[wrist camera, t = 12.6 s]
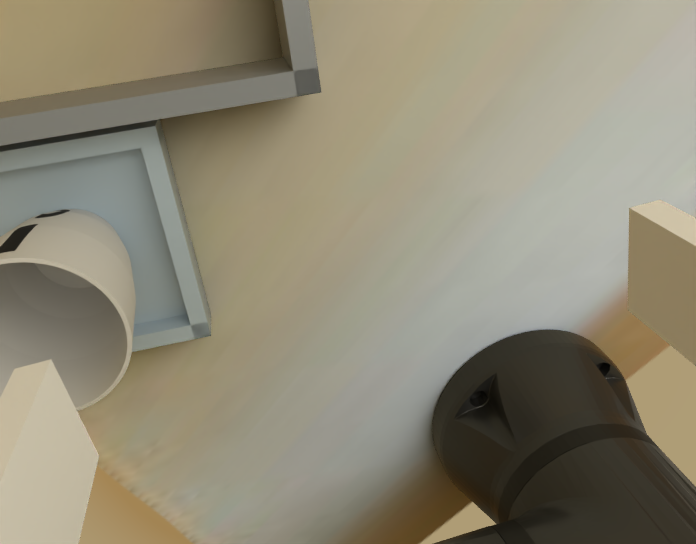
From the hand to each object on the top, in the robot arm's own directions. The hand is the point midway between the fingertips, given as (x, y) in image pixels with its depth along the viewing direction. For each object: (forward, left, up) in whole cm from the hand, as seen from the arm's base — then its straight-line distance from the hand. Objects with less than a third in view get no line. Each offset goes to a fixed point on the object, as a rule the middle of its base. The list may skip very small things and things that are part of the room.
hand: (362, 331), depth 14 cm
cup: (-6, +12, -24) cm, 28 cm away
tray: (-6, +13, -25) cm, 28 cm away
